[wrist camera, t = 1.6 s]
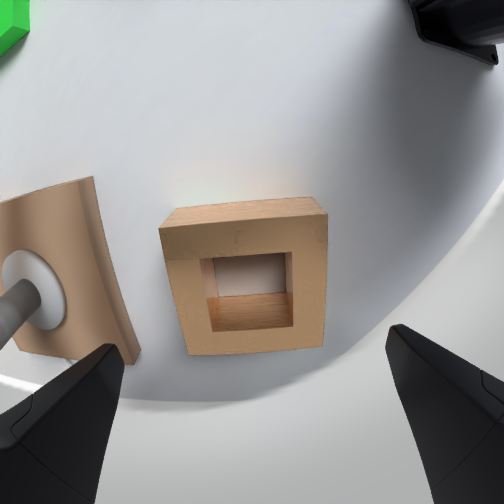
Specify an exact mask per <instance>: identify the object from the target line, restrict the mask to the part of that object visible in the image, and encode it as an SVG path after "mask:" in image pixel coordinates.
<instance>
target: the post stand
mask: <svg viewBox="0 0 504 504" xmlns="http://www.w3.org/2000/svg"><path fill="white" fill-rule="evenodd" d="M11 337H13V339H14V341H15V343H16V345H17V346H18V348H19V350H20V351H24V352H29V353H35V354H40V355H46V356H53V357H59V358H66V359H74V360H81V359H82V358H84V357H85V356H87V355H88V354H90V353H91V352H92V351H94V350H95V349H97V348H98V347H100V346H101V345H102V344H104V343H114V344H116V345H117V347H118V349H119V351H120V354H121V356H122V358H123V360H124V364H126V365H134V364H135V362H136V359H137V357H138V355H139V352H140V350H141V349H140V346H139V344H138V341H137V338H136V336H135V333H134V330H133V328H132V325H131V322H130V319H129V316H128V314H127V311H126V308H125V305H124V302H123V299H122V295H121V292H120V289H119V286H118V283H117V279H116V276H115V272H114V269H113V265H112V262H111V258H110V254H109V251H108V247H107V243H106V239H105V235H104V230H103V226H102V222H101V217H100V212H99V208H98V203H97V198H96V192H95V187H94V181H93V176H90V177H86V178H82V179H78V180H74V181H70V182H66V183H62V184H58V185H55V186H51V187H48V188H44V189H41V190H37V191H34V192H31V193H27V194H24V195H21V196H18V197H15V198H12V199H9V200H6V201H3V202H0V350H1V349H2V348H3V346H4V345H5V344H6V343H7V342H8V341H9V339H10V338H11Z"/></svg>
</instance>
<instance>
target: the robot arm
mask: <svg viewBox="0 0 504 504" xmlns="http://www.w3.org/2000/svg"><path fill="white" fill-rule="evenodd" d="M409 3H410V4H411V8H412V11H413V16H414V20H415V24H416V29H417V33H418V36H419V37H420V38H421V39H422V40H423V41H425V42H427V43H431V44H434V45H437V46H441V47H444V48H447V49H450V50H453V51H456V52H459V53H462V54H465V55H467V56H470V57H473V58H475V59H478V60H480V61H483V62H485V63H487V64H490V65H497V64H498V62H499V61H498V55H497V50H496V45H495V44H500V43H504V0H409ZM425 31H426V32H427V33H428V36H427V35H426V34H425ZM385 349H386V354H387V357H388V361H389V364H390V368H391V371H392V375H393V379H394V383H395V386H396V389H397V392H398V395H399V397H400V400H401V402H402V405H403V408H404V410H405V413H406V416H407V419H408V421H409V424H410V427H411V430H412V433H413V436H414V438H415V441H416V444H417V447H418V450H419V453H420V456H421V460H422V463H423V466H424V469H425V473H426V476H427V479H428V482H429V486H430V490H431V494H432V498H433V501H434V504H504V382H503V381H501V380H499V379H497V378H495V377H494V376H492V375H490V374H488V373H486V372H485V371H483V370H480V369H479V368H478V367H476V366H475V365H473V364H471V363H469V362H468V361H466V360H464V359H462V358H461V357H459V356H457V355H455V354H454V353H452V352H450V351H449V350H447V349H445V348H444V347H442V346H440V345H438V344H436V343H435V342H433V341H431V340H430V339H428V338H426V337H424V336H423V335H421V334H419V333H417V332H416V331H414V330H412V329H410V328H409V327H407V326H405V325H403V324H397V325H392V326H391V327H390V329H389V332H388V337H387V341H386V346H385ZM124 367H125V365H124V360H123V358H122V356H121V354H120V351H119V349H118V347H117V345H116V344H114V343H104V344H102V345H101V346H100V347H98V348H97V349H95V350H94V351H92V352H91V353H90V354H88V355H87V356H85V357H84V358H82V359H81V360H80V361H78V362H77V363H75V364H74V365H72V366H71V367H70V368H68V369H67V370H65V371H64V372H62V373H61V374H60V375H58V376H57V377H55V378H54V379H53V380H51V381H50V382H48V383H47V384H45V385H44V386H43V387H41V388H40V389H38V390H37V391H36V392H34V394H31V395H30V396H28V397H27V398H26V399H24V400H23V401H22V402H20V403H18V404H17V405H15V406H14V407H12V408H11V409H9V410H7V411H6V412H4V413H2V414H1V415H0V504H94V503H95V498H96V493H97V488H98V483H99V478H100V473H101V469H102V464H103V460H104V455H105V451H106V447H107V443H108V439H109V435H110V431H111V427H112V424H113V420H114V416H115V412H116V409H117V405H118V400H119V395H120V389H121V383H122V378H123V373H124Z"/></svg>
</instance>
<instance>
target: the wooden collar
mask: <svg viewBox="0 0 504 504" xmlns="http://www.w3.org/2000/svg"><path fill="white" fill-rule="evenodd" d="M158 229H159V234H160V239H161V244H162V249H163V254H164V259H165V263H166V268H167V272H168V277H169V281H170V285H171V290H172V294H173V298H174V302H175V306H176V310H177V314H178V318H179V321H180V325H181V329H182V333H183V336H184V340H185V343H186V347H187V350H188V354H189V355H220V354H243V353H259V352H272V351H284V350H295V349H304V348H313V347H321V346H323V334H324V320H325V303H326V282H327V246H328V214H327V213H326V212H325V211H324V209H323V208H322V207H321V206H320V205H319V204H318V203H317V202H316V201H315V200H314V199H313V198H312V197H302V198H286V199H272V200H259V201H246V202H235V203H224V204H214V205H204V206H194V207H185V208H177V209H176V210H175V211H174V212H173V213H172V214H171V215H170V216H169V217H168V218H167V219H166V220H165V221H164V223H163V224H162V225H161V226H160V227H159V228H158ZM280 252H285V268H286V292H284V293H272V294H259V295H246V296H231V297H219V296H218V290H217V284H216V277H215V271H214V264H213V258H216V257H229V256H242V255H255V254H267V253H280Z"/></svg>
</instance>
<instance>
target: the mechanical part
mask: <svg viewBox="0 0 504 504" xmlns="http://www.w3.org/2000/svg"><path fill="white" fill-rule="evenodd" d="M29 31H30V20H29V0H0V57H1V56H2V55H3V54H4V53H5V52H6V51H7V50H8V49H9V48H11V47H12V46H13V45H14V44H15V43H16V42H17V41H18V40H20V39H21V38H22V37H23V36H24V35H25V34H27V33H28V32H29Z"/></svg>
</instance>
